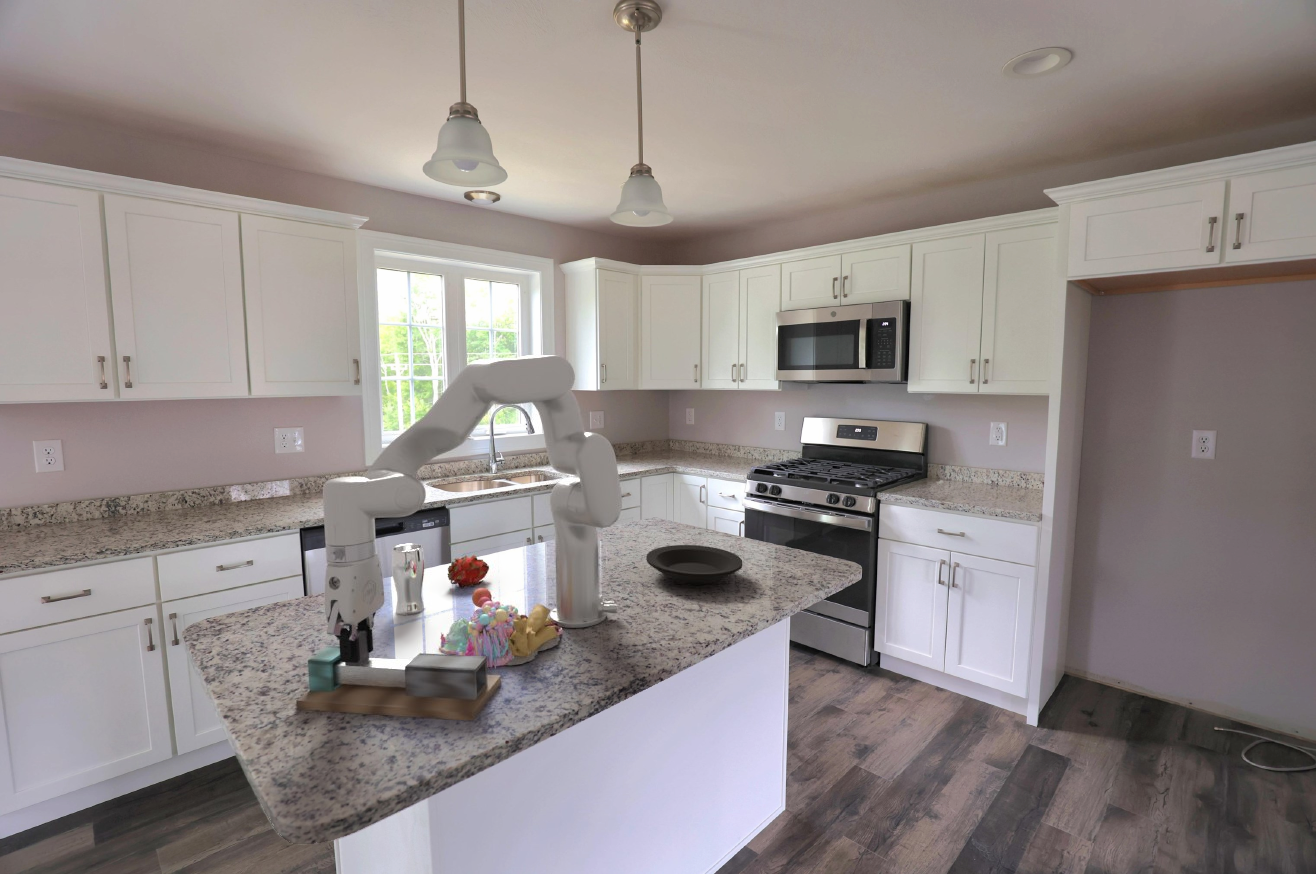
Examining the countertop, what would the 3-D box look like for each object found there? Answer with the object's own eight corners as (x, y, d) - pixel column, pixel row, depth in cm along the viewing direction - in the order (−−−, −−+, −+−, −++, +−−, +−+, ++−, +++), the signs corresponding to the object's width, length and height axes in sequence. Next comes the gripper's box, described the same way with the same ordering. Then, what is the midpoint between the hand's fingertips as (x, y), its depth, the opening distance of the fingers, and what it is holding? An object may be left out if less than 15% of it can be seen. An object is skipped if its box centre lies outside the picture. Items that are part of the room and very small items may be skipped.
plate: (763, 584, 161) (763, 563, 160) (689, 603, 148) (689, 580, 147) (696, 558, 184) (696, 540, 184) (628, 573, 171) (627, 553, 170)
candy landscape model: (577, 626, 135) (576, 585, 134) (532, 676, 112) (531, 627, 112) (473, 617, 141) (471, 577, 140) (410, 663, 118) (408, 616, 117)
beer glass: (414, 617, 140) (412, 552, 139) (387, 615, 141) (384, 550, 140) (432, 606, 147) (429, 544, 145) (405, 604, 148) (402, 542, 147)
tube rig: (501, 683, 109) (499, 646, 109) (472, 720, 97) (471, 679, 97) (342, 674, 113) (340, 638, 112) (296, 709, 101) (294, 669, 100)
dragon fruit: (443, 596, 158) (485, 591, 166) (458, 582, 153) (501, 578, 162) (437, 565, 161) (478, 562, 170) (451, 551, 157) (493, 548, 165)
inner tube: (437, 679, 106) (435, 633, 105) (428, 689, 103) (426, 641, 102) (334, 673, 108) (331, 628, 107) (322, 682, 105) (319, 635, 104)
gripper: (341, 566, 95) (348, 681, 97) (398, 539, 111) (403, 637, 113) (296, 565, 96) (303, 678, 98) (359, 538, 112) (364, 635, 114)
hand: (357, 655), depth 106 cm, fingers closed on inner tube, 3 cm apart
